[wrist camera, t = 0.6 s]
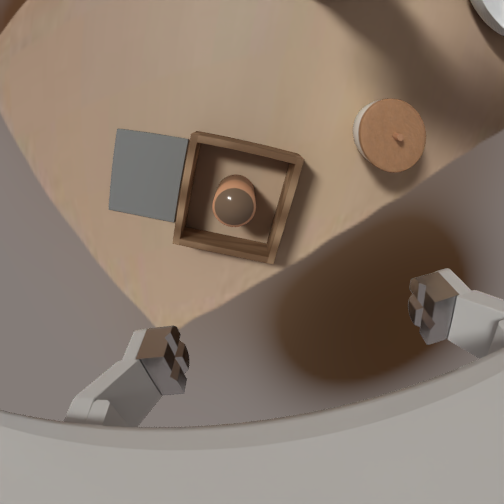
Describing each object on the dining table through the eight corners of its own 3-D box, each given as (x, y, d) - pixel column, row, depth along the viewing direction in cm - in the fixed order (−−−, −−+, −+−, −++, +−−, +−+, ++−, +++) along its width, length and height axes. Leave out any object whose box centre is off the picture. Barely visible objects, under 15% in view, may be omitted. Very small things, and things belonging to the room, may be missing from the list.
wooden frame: (196, 131, 44) (191, 133, 40) (298, 154, 46) (304, 159, 42) (178, 230, 52) (172, 243, 47) (270, 250, 54) (273, 264, 49)
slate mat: (117, 128, 43) (117, 128, 43) (188, 139, 45) (188, 139, 45) (109, 208, 49) (108, 209, 49) (174, 221, 51) (173, 222, 51)
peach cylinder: (221, 171, 47) (217, 181, 41) (258, 179, 48) (260, 191, 42) (213, 206, 50) (208, 222, 44) (249, 214, 51) (250, 231, 44)
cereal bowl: (491, -29, 25) (511, -35, 19) (520, 38, 32) (542, 38, 26) (441, -33, 28) (460, -43, 22) (476, 42, 35) (499, 40, 29)
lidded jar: (398, 96, 41) (427, 97, 33) (406, 158, 46) (434, 170, 38) (338, 101, 42) (358, 101, 34) (349, 166, 47) (370, 180, 39)
